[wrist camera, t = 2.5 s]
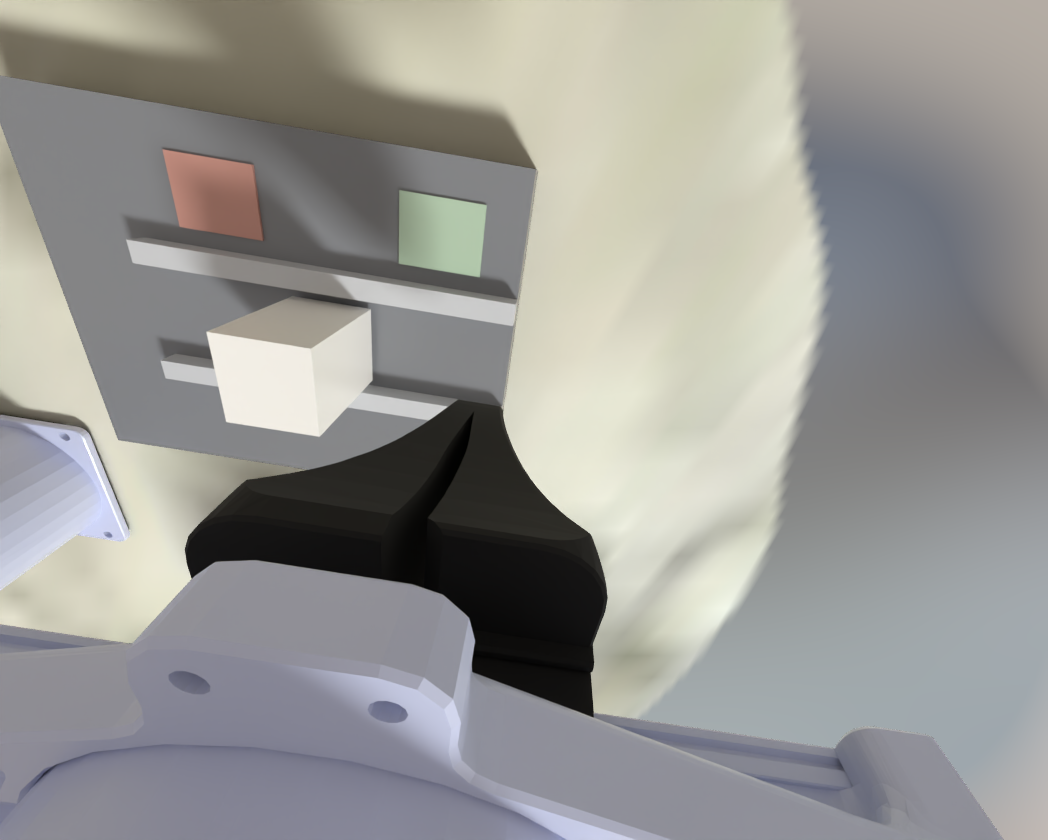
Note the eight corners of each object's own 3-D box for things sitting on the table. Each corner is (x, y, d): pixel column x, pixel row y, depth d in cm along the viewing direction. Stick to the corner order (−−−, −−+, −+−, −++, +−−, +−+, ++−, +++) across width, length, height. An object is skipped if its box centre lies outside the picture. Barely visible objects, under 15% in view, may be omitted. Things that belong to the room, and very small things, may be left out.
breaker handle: (300, 368, 18) (226, 421, 14) (292, 296, 16) (206, 331, 12) (372, 380, 18) (319, 436, 14) (370, 309, 16) (310, 348, 12)
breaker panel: (152, 420, 22) (102, 448, 20) (46, 85, 15) (-50, 65, 13) (494, 473, 22) (486, 508, 20) (538, 171, 16) (535, 168, 13)
